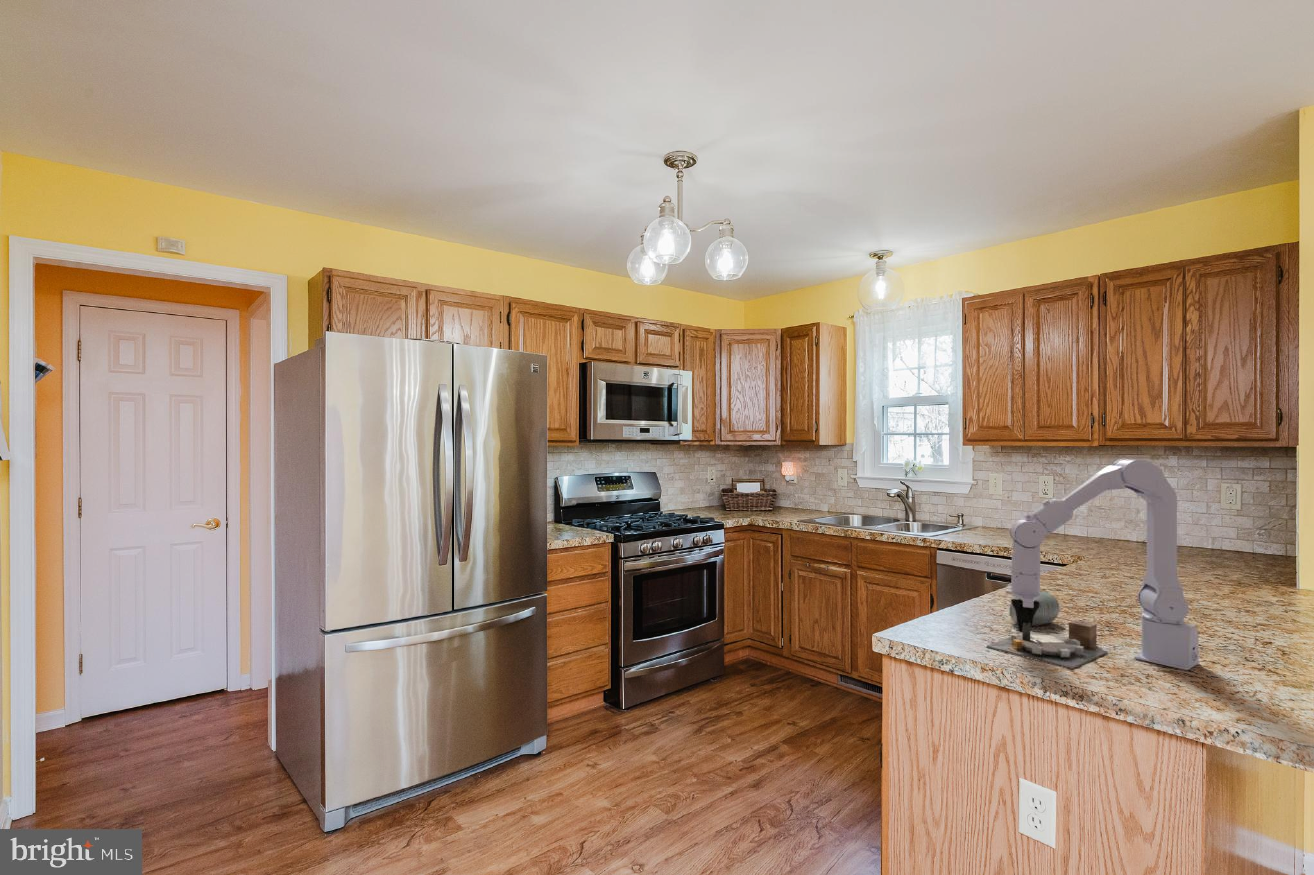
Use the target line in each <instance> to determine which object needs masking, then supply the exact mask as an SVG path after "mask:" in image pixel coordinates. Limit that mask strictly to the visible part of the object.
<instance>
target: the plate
mask: <svg viewBox="0 0 1314 875" xmlns="http://www.w3.org/2000/svg"><path fill="white" fill-rule="evenodd" d="M1080 646H1082V645H1080ZM1083 647H1084V653H1083V654H1082V655H1080V654H1074V655H1070V657H1060V656H1056V655H1046V654H1042V655H1040V654H1035V653H1032V651H1028V650H1025V649H1023V648H1016V647H1015V646H1013V641H1011V636H1010V637H1008V638H1004V639H1001V640H999V641H996V642H994V643H990V644H988V645H986V648H988V649H991V650H994V651H999V650H1001V651H1000V652H1003V651H1004V653H1006V652H1009V653H1008V654H1010V653H1012V654H1011V655H1014V654H1017V655H1016V656H1018V655H1020V656H1019V657H1022V656H1024V657H1023V658H1026V657H1029V658H1028V659H1030V658H1032V659H1031V660H1034V659H1037V660H1036V661H1038V660H1039V661H1038V662H1042V661H1044V662H1043V663H1045V662H1047V663H1046V664H1049V663H1052V664H1051V665H1053V664H1055V666H1057V665H1059V666H1058V667H1061V666H1063V667H1062V668H1065V667H1066V669H1069V668H1070V669H1069V670H1075V669H1076V668H1078V667H1081V666H1083V665H1085V664H1087V663H1089V661H1090V662H1091V661H1094V660H1096V659H1098V658H1100V657H1102V656H1104V655H1107V654H1108V653H1109V652H1108V650H1105V649H1104V650H1103V649H1099V648H1095V647H1092V648H1091V647H1086V646H1083Z"/></svg>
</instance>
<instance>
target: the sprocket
mask: <svg viewBox="0 0 1314 875" xmlns="http://www.w3.org/2000/svg"><path fill="white" fill-rule="evenodd" d="M1010 637H1011V641H1013V646H1015V647H1016V648H1023V649H1025V650H1028V651H1032V653H1035V654H1040V655H1042V654H1046V655H1056V656H1060V657H1070V655H1074V654H1080V655H1082V654H1083V653H1084V647H1083V646H1080V642H1079V641H1077V640H1075V639H1069V637H1065V636H1061V635H1060V634H1058V633H1047V632H1046V633H1044V632H1034V631H1030V622H1025V621H1024V622H1022V632H1019V633H1014V632H1013V633H1011V634H1010Z"/></svg>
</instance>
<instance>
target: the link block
mask: <svg viewBox="0 0 1314 875" xmlns="http://www.w3.org/2000/svg"><path fill="white" fill-rule="evenodd" d="M1097 632H1098V631H1097V624H1096V623H1092V622H1087V621H1081V620H1077V619H1074V620H1071V621H1069V622H1068V638H1069V639H1075V640H1077V641H1079V642H1080V645H1082V646H1086V647H1091V648H1095V647H1096V645H1097V639H1098V638H1097Z"/></svg>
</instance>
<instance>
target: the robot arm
mask: <svg viewBox="0 0 1314 875" xmlns="http://www.w3.org/2000/svg"><path fill="white" fill-rule="evenodd" d="M1123 489H1125V490H1126V489H1128V490H1130V491H1133V492H1134V493H1135V494H1136V495H1137V496H1139V497H1140V498H1142V499H1143V500H1144V501H1145V502H1146V573H1145V575H1143V578H1142V585H1141V587H1140V589H1139V591H1138V592H1137V601H1138V603H1139V605H1140V607H1141V608H1142V609H1143V610H1142V611H1143V612H1141V652H1140V653H1138V654H1135V655H1134V659H1136V660H1140V661H1144V662H1149V663H1153V664H1156V665H1157V664H1158V665H1162V666H1167V667H1171V668H1175V669H1180V670H1183V671H1184V670H1185V671H1189V670H1190V669H1192V668H1194V667H1196V666H1197V665H1199V664H1200V661H1199V630H1198V628H1197V626H1196V625H1194V624H1190V623H1189V624H1188V623H1186V622H1185V621H1184V619H1185V618H1187V616H1188V614H1189V604H1188V601H1187V600H1186V598H1185V596H1184V587H1183V585H1182V583H1181V582H1180V580H1179V578H1178V509H1177V508H1178V500H1177V499H1178V496H1177V492H1176V491H1175V490H1174V487H1173V486H1172V484H1170V482H1169V481H1168V479H1167V478H1166V477H1165V475H1164V472H1163V469H1162V468H1160V467H1159V466H1157V465H1156V464H1154V463H1153V462H1151V461H1149V460H1146V459H1142V458H1141V459H1133V458H1127V457H1126V458H1121V459H1118V460H1116V461H1114V463H1113V462H1112V464H1110V465H1107V466H1105V467H1104V468H1102V469H1101V470H1099V471H1098V472H1096V473H1095V474H1094V475H1093V476H1091V477H1090V478H1089V479H1087V480H1086V481H1084V483H1082V484H1081V485H1080V486H1078V487H1077V488H1076V489H1074V490H1073V491H1071V492H1070V493H1069V494H1068V495H1066V496H1065V497H1063V498H1061V499H1060V498H1052V499H1050V500H1049V499H1045V500H1044V501H1042V502H1041V504H1042V505H1041V506H1040V507H1039V508H1037V509H1035V511H1033V512H1032V513H1030V514H1029V513H1026V514H1025V515H1024V516H1023V517H1024V518H1025V519H1019V520H1017V521H1015V522H1014V523H1013V524H1012V525H1011V528H1010V530H1009V532H1008V533H1009V536H1010V538H1011V539H1012V550H1011V579H1010V580H1011V581H1010V583H1011V584H1010V585H1011V586H1010V589H1008V588H1007V589H1006V588H1005V591H1004V592H1005V594H1007V595H1011V596H1013V597H1017V598H1019V600H1018V599H1013V598H1011V599H1010V603H1011V602H1012V604H1013V606H1014V608H1015V612H1016V616H1017V623H1016V624H1017V629H1018V631H1019V633H1022V622H1024V621H1025V622H1030V632H1032V627H1033V626H1032V622H1033V617H1034V615H1035V613H1036V611H1037V609H1038V608H1039V606H1040V605H1039V602H1038V601H1036V600H1037V599H1038V598H1040V597H1041V594H1040V590H1041V545H1042V544H1043V543H1044V540H1045V538H1046V537H1045V536H1049V535H1050V534H1052V533H1054V532H1055V531H1056V530H1058V529H1059V528H1061V527H1062V526H1064V525H1065V524H1066V523H1068V522H1069V521H1071V520H1073V516H1074V511H1075V510H1076V509H1079V508H1080V507H1081V506H1083V505H1085V504H1086V503H1088V502H1090V501H1092V500H1093V499H1094V498H1095V499H1096V497H1097V496H1100V495H1101V494H1103V493H1105V492H1106V491H1111V490H1112V491H1113V490H1123Z"/></svg>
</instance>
